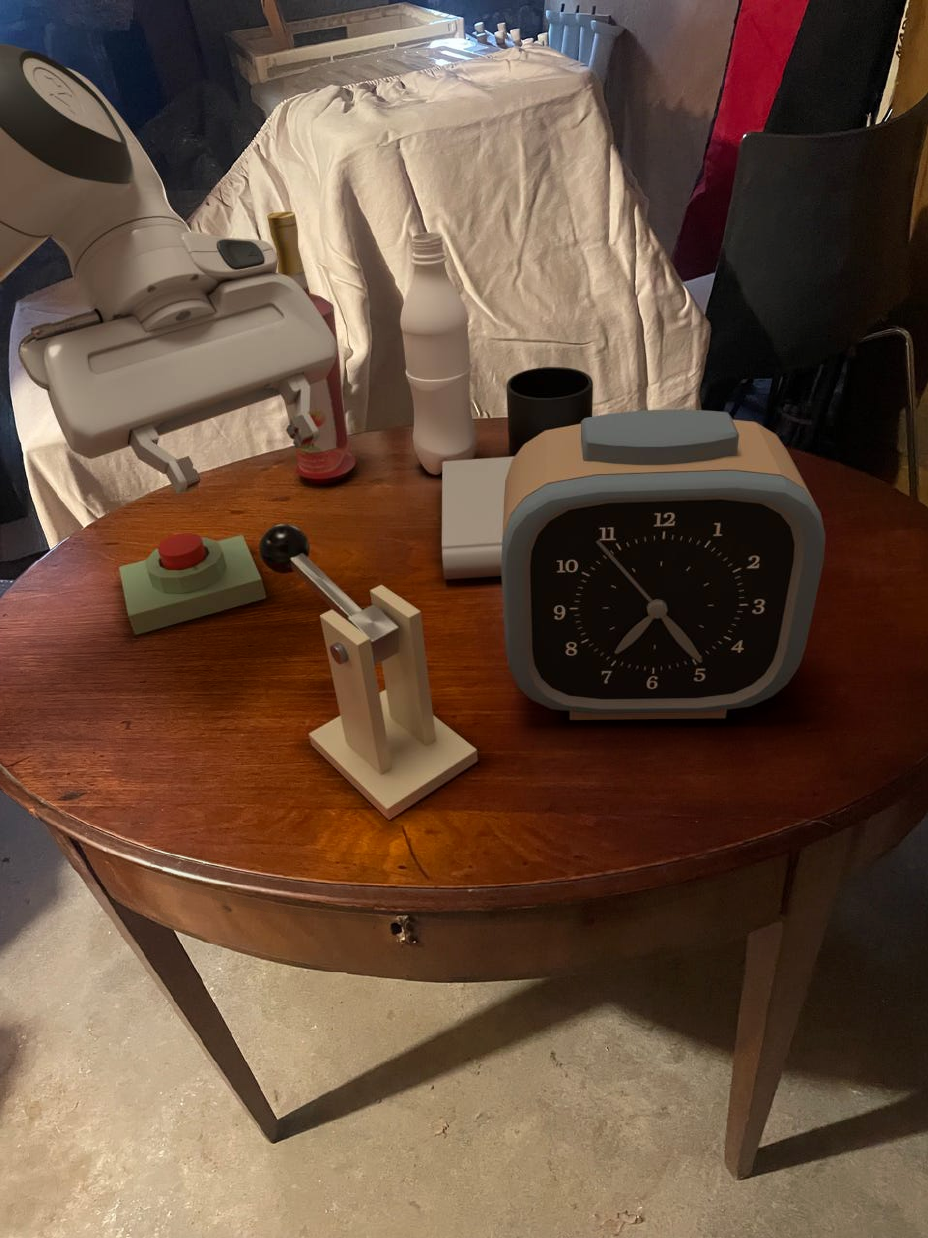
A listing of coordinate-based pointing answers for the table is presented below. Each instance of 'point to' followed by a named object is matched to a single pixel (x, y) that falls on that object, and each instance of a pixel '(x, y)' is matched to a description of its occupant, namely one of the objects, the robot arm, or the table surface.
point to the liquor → (326, 397)
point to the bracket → (387, 714)
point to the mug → (546, 402)
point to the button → (182, 551)
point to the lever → (327, 587)
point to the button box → (190, 586)
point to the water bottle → (437, 359)
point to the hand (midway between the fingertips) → (251, 464)
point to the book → (473, 516)
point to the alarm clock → (657, 565)
